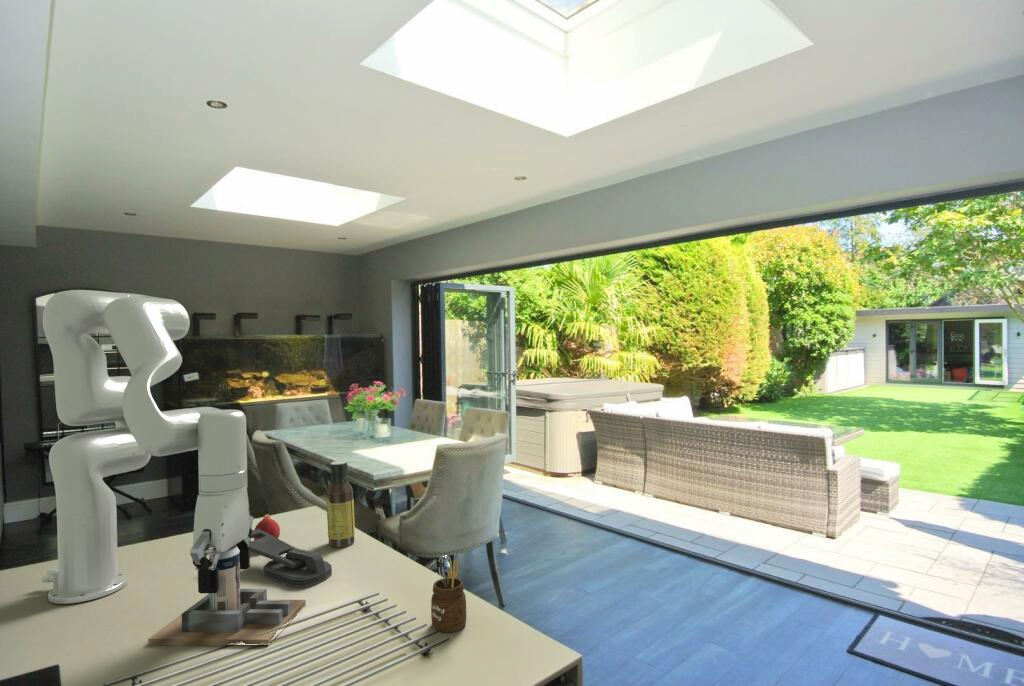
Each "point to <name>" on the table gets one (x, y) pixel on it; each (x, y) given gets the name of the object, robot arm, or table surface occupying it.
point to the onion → (268, 527)
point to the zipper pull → (289, 562)
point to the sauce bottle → (340, 507)
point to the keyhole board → (229, 621)
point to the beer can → (227, 581)
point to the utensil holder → (448, 602)
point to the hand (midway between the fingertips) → (225, 580)
